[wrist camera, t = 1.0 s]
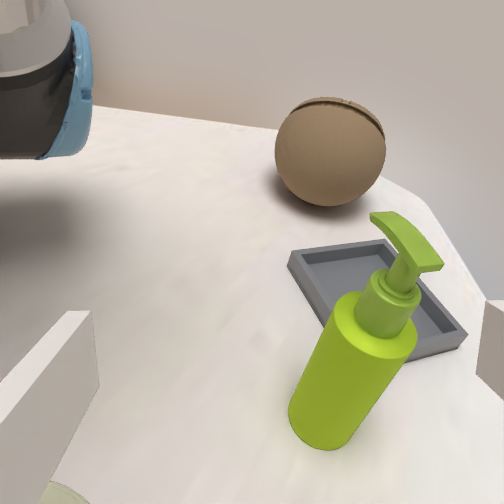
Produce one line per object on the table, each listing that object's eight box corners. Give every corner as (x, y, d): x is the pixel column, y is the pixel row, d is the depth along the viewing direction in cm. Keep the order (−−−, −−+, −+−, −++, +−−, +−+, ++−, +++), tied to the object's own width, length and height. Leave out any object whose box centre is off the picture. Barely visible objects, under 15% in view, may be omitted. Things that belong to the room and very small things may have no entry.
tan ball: (382, 217, 64) (428, 123, 55) (301, 237, 57) (337, 131, 47) (323, 164, 73) (353, 75, 63) (247, 175, 66) (267, 76, 56)
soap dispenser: (330, 372, 42) (420, 203, 29) (365, 441, 37) (491, 277, 24) (274, 383, 40) (344, 207, 27) (304, 458, 35) (406, 288, 22)
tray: (286, 266, 52) (291, 250, 51) (377, 253, 58) (384, 238, 56) (353, 376, 42) (362, 362, 40) (456, 348, 47) (468, 334, 46)
